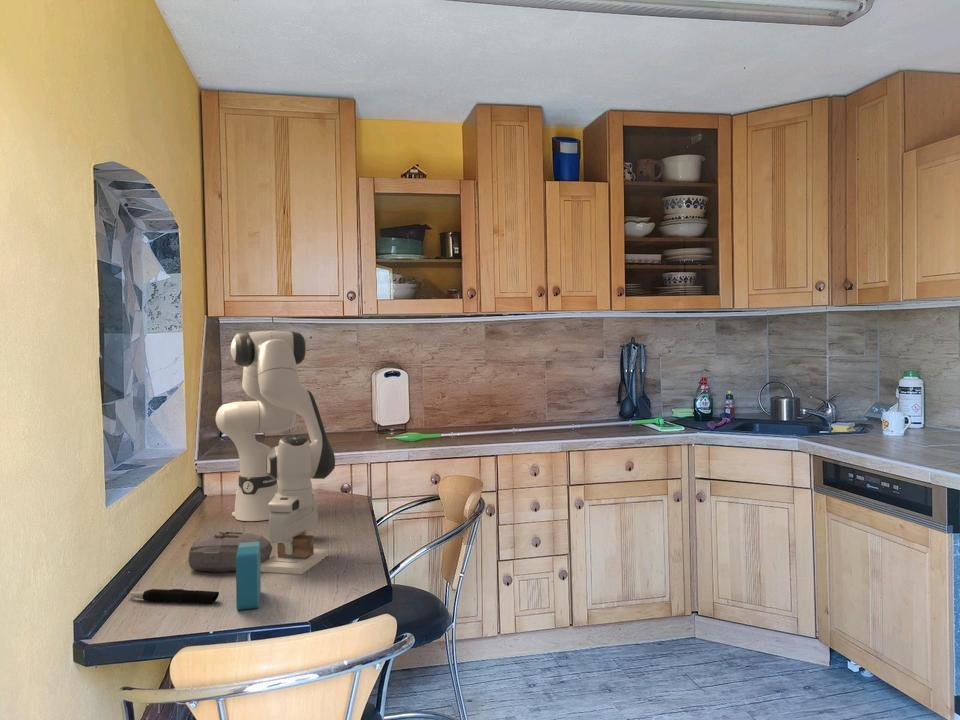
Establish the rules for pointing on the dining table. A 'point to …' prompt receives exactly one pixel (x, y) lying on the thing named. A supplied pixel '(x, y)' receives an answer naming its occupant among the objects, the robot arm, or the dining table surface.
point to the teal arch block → (248, 576)
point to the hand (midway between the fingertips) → (295, 550)
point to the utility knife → (177, 596)
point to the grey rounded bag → (223, 551)
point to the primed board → (292, 563)
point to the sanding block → (298, 547)
